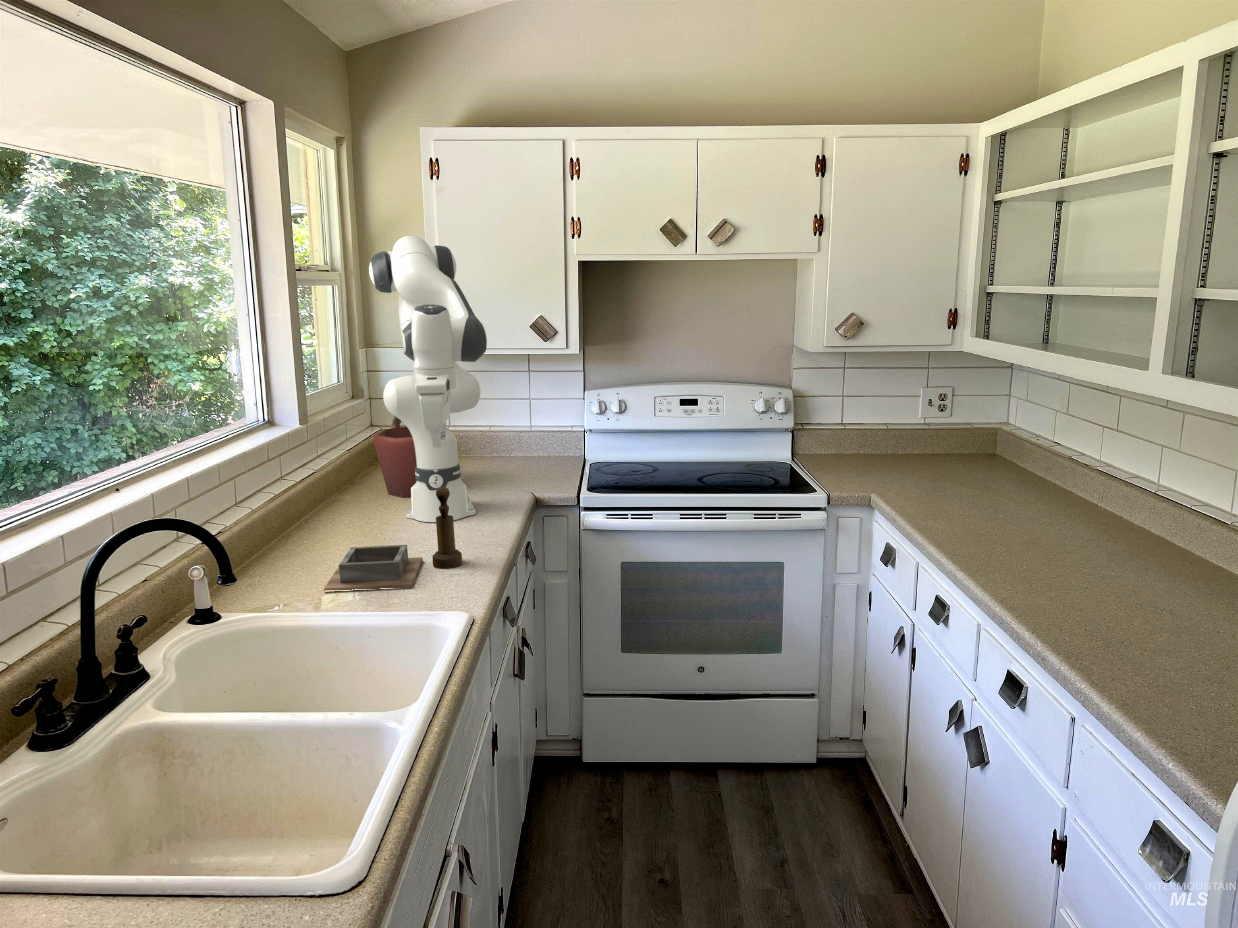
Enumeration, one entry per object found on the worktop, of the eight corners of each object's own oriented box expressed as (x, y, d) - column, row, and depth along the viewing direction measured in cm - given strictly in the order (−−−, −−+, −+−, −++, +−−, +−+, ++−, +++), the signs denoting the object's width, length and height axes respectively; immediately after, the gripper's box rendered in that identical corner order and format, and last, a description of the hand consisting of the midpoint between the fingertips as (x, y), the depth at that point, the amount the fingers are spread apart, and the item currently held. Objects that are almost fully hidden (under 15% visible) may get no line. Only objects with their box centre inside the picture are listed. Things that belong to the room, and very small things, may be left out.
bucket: (461, 495, 263) (456, 412, 257) (386, 505, 253) (379, 419, 248) (440, 479, 284) (435, 402, 279) (371, 487, 275) (364, 408, 270)
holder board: (342, 565, 201) (341, 544, 200) (422, 561, 202) (421, 540, 201) (324, 592, 183) (321, 570, 182) (411, 588, 185) (410, 565, 184)
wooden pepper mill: (449, 557, 205) (444, 482, 201) (468, 562, 201) (463, 486, 197) (427, 565, 200) (421, 488, 196) (445, 570, 196) (440, 492, 192)
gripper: (426, 376, 201) (430, 435, 204) (414, 386, 181) (418, 452, 184) (454, 375, 202) (458, 434, 204) (445, 385, 182) (449, 451, 185)
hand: (439, 443), depth 194 cm, fingers open, 8 cm apart
